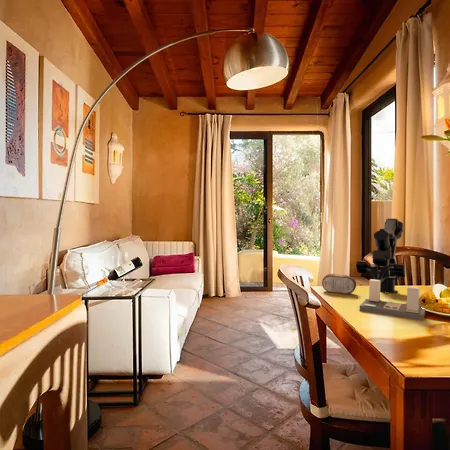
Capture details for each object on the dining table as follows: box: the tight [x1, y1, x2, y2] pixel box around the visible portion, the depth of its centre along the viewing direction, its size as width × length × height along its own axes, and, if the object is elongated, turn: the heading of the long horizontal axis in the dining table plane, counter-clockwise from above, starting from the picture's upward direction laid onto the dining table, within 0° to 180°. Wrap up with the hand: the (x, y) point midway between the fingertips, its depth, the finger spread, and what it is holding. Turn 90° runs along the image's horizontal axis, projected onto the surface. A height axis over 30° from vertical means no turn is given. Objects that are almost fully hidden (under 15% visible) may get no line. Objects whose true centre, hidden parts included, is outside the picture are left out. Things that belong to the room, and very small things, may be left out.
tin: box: [321, 273, 357, 295], centre depth 161 cm, size 15×3×8 cm, turn 65°
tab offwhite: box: [368, 278, 381, 302], centre depth 138 cm, size 3×4×8 cm
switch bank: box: [359, 298, 426, 322], centre depth 131 cm, size 12×21×2 cm, turn 56°
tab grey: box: [406, 285, 420, 311], centre depth 125 cm, size 3×4×8 cm
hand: (377, 285), depth 142 cm, fingers closed
